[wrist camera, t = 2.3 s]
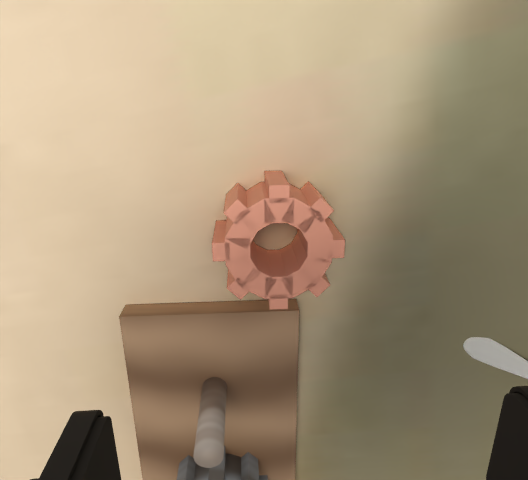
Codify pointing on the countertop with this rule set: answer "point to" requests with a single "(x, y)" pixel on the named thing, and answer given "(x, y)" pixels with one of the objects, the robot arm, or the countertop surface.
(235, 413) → the gear board
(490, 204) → the countertop surface
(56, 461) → the robot arm
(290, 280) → the pink gear
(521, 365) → the spoon
